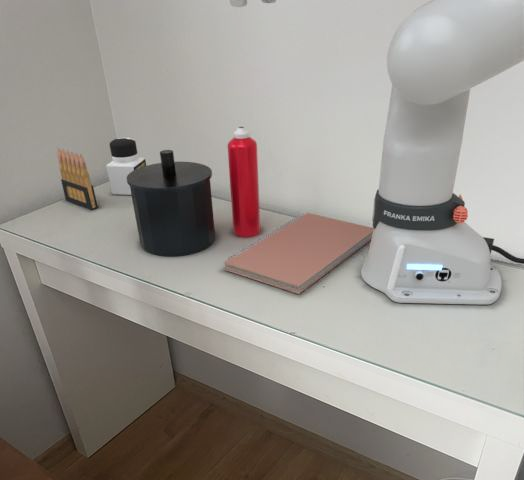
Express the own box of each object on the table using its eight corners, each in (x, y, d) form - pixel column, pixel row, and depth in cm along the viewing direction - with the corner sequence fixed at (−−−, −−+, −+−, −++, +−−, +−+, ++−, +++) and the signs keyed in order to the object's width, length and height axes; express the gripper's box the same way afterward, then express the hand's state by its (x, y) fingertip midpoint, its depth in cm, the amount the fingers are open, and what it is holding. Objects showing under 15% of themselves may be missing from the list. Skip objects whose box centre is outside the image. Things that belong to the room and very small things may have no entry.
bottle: (240, 225, 110) (234, 123, 98) (264, 228, 108) (261, 124, 96) (228, 235, 106) (221, 130, 94) (253, 238, 104) (248, 132, 92)
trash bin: (225, 229, 108) (220, 167, 101) (198, 260, 97) (190, 193, 90) (161, 223, 112) (152, 163, 105) (127, 252, 101) (114, 187, 94)
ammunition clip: (98, 207, 121) (86, 154, 114) (91, 210, 120) (79, 156, 113) (72, 198, 127) (59, 146, 120) (65, 200, 126) (52, 148, 119)
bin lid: (224, 170, 102) (222, 142, 99) (192, 197, 90) (189, 166, 87) (151, 165, 106) (147, 138, 103) (111, 191, 94) (105, 161, 91)
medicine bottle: (139, 195, 127) (130, 143, 120) (111, 194, 128) (101, 143, 121) (150, 186, 132) (142, 135, 125) (123, 185, 134) (114, 135, 127)
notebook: (303, 219, 111) (303, 210, 110) (375, 237, 103) (376, 227, 102) (219, 269, 94) (218, 259, 93) (298, 295, 85) (299, 284, 84)
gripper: (245, -141, 56) (239, 12, 65) (314, -119, 71) (302, 3, 80) (194, -143, 58) (195, 5, 67) (271, -121, 73) (264, -2, 82)
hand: (254, 4), depth 73 cm, fingers open, 8 cm apart
